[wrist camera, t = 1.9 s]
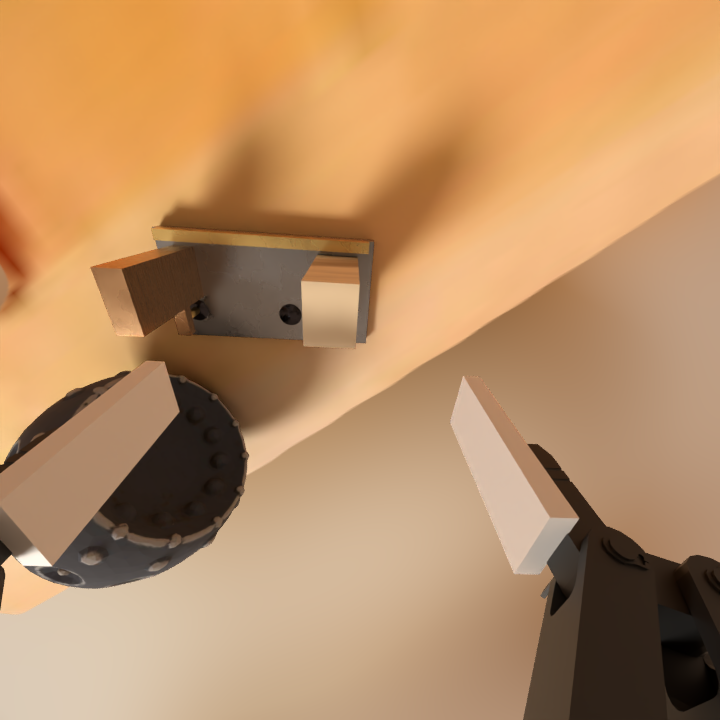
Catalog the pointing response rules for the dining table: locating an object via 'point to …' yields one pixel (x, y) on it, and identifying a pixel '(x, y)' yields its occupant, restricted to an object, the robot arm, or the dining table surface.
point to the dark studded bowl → (153, 491)
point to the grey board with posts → (223, 282)
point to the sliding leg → (330, 302)
